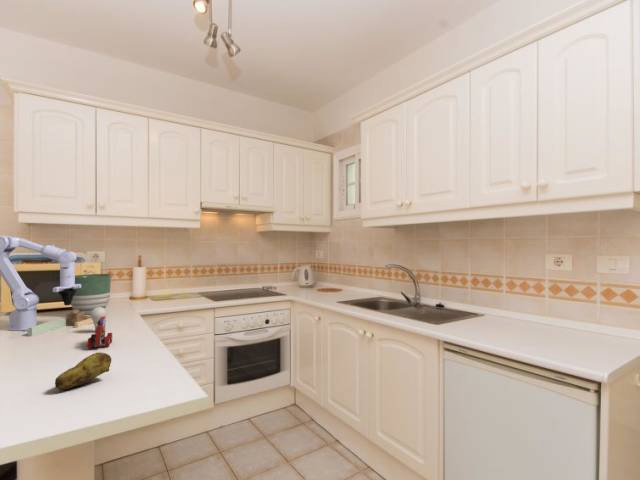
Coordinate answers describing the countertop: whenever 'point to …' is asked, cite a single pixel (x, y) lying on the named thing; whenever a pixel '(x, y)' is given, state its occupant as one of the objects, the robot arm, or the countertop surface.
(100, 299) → the planter
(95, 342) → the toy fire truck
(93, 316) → the lightbulb
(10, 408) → the countertop surface
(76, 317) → the cabinet block
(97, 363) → the potato
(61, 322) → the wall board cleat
